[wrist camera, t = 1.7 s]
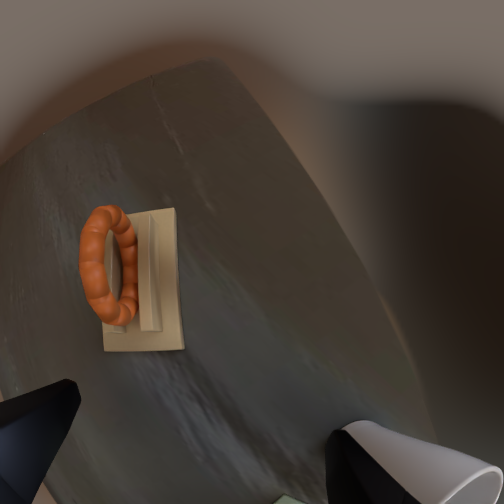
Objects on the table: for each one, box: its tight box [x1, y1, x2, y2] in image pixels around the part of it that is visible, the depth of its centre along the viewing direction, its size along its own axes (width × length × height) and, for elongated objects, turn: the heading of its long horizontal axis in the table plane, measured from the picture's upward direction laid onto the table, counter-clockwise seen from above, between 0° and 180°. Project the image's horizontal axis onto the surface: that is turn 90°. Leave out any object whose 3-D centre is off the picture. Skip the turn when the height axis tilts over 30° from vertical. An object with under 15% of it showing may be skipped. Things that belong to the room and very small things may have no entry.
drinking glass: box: [342, 420, 503, 504], centre depth 11 cm, size 7×7×15 cm
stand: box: [102, 208, 185, 351], centre depth 21 cm, size 12×7×4 cm, turn 7°
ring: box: [79, 205, 139, 326], centre depth 18 cm, size 8×2×8 cm, turn 7°
